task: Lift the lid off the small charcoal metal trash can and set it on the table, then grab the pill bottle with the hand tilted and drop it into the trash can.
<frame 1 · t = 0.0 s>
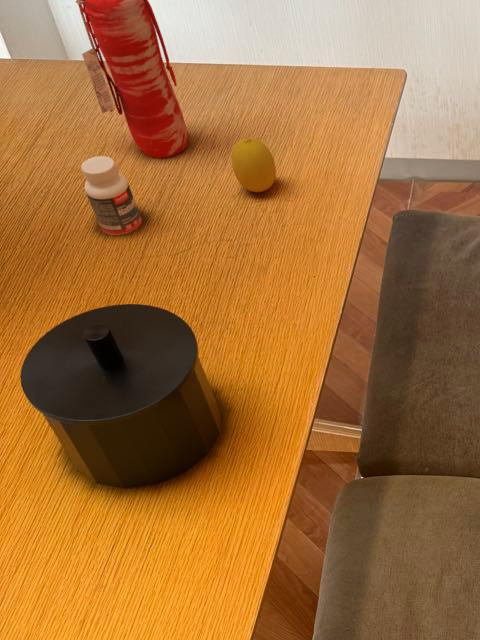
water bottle: (156, 151, 129), on the table
trash can: (148, 435, 97), on the table
pill bottle: (123, 227, 119), on the table
bin lid: (112, 363, 88), point 10 cm above the table, touching trash can
lemon: (261, 194, 124), on the table
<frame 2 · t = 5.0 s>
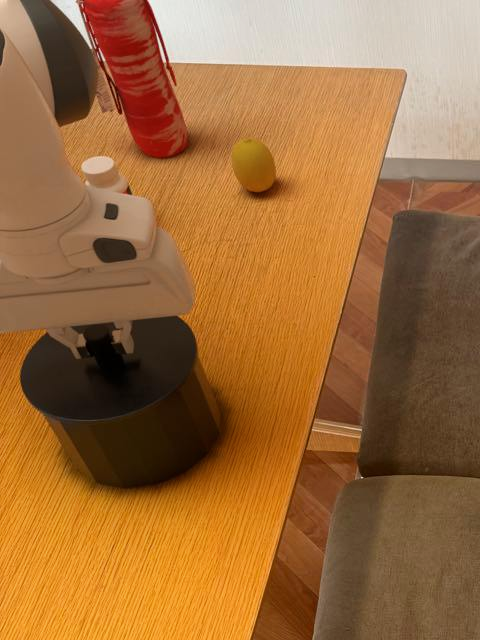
hand: (106, 352, 87), 12 cm above the table, tool pointing down, fingers closed on bin lid, 2 cm apart
bin lid: (111, 363, 88), point 11 cm above the table, touching gripper, trash can
everything else where it was.
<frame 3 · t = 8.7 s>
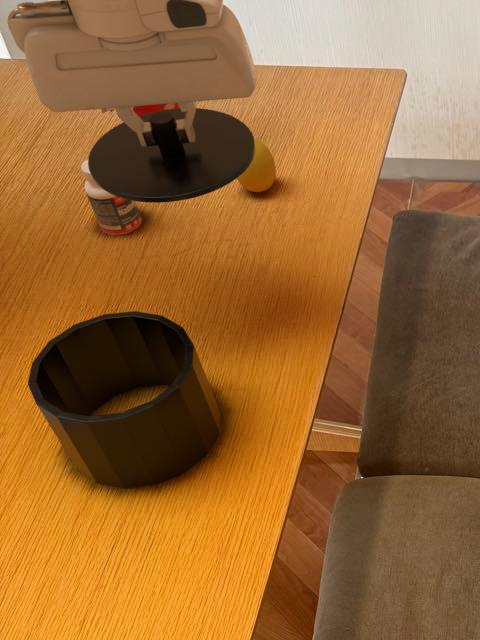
hand: (169, 141, 92), 22 cm above the table, tool pointing down, fingers closed on bin lid, 2 cm apart
bin lid: (174, 155, 93), point 20 cm above the table, touching gripper
everything else where it was.
when the fingers open (2 cm above the table, at t = 12.4 s): bin lid stays where it is, point 1 cm above the table.
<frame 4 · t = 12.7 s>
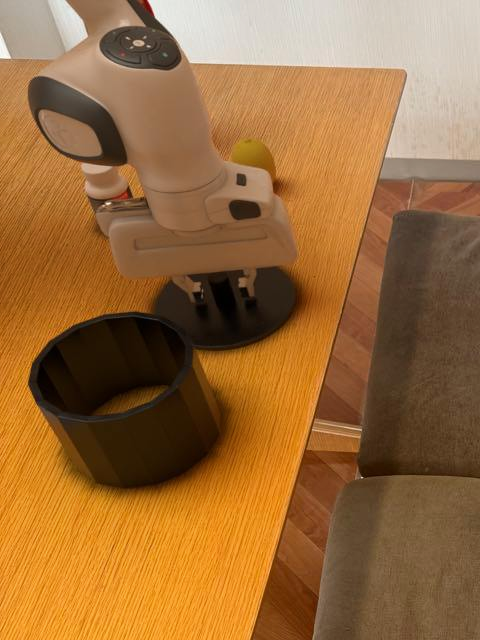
hand: (223, 296, 108), 2 cm above the table, tool pointing down, fingers open, 4 cm apart
bin lid: (226, 304, 109), point 1 cm above the table
everything else where it was.
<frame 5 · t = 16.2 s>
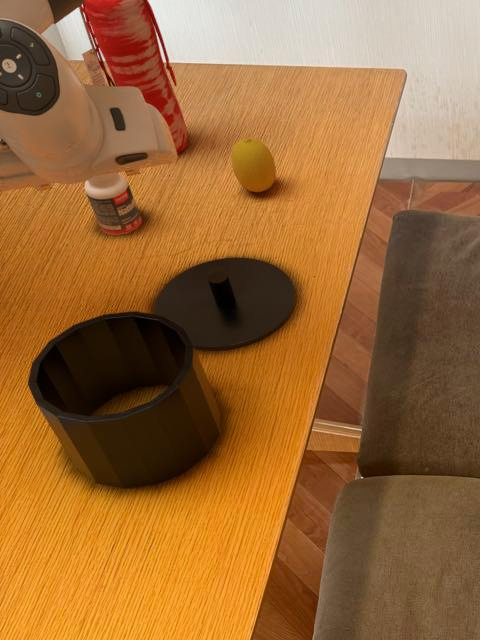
hand: (88, 175, 100), 15 cm above the table, tool tilted 45°, fingers open, 8 cm apart
nothing on the table moved.
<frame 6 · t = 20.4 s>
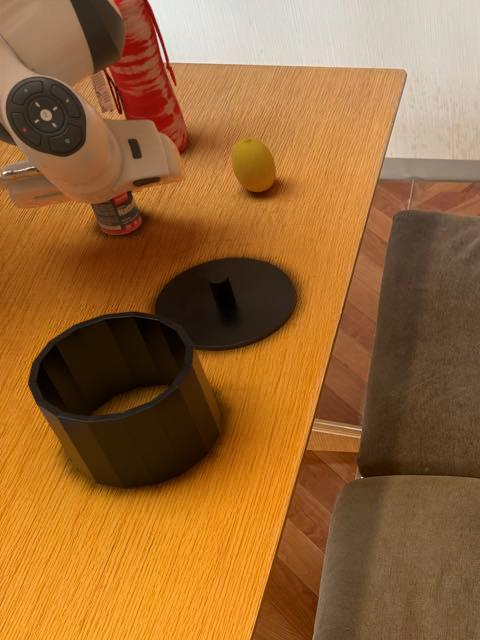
hand: (109, 190, 115), 5 cm above the table, tool tilted 45°, fingers closed on pill bottle, 5 cm apart
pill bottle: (123, 227, 119), on the table, touching gripper
everything else where it was.
when the fingers open (14 cm above the table, at t = 31.0 s): pill bottle drops 9 cm, resting on trash can.
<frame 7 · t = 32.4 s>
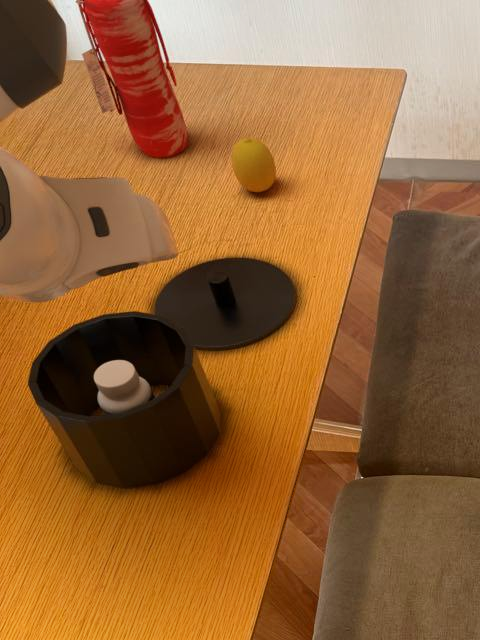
hand: (67, 269, 80), 21 cm above the table, tool tilted 45°, fingers open, 8 cm apart
pill bottle: (144, 435, 97), resting on trash can
everything else where it was.
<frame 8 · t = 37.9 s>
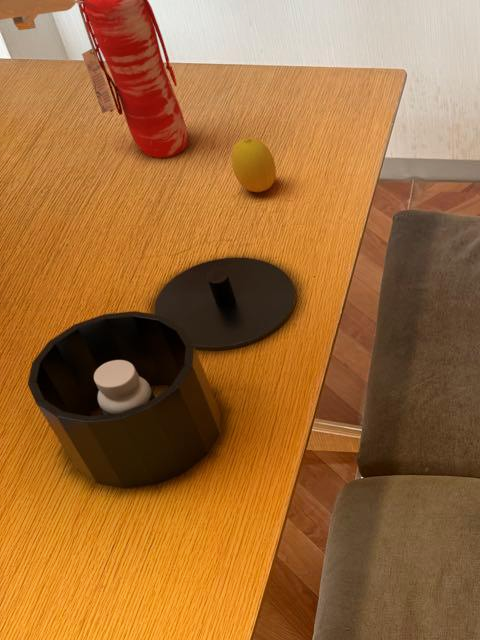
nothing on the table moved.
at the end: bin lid inside the target area (0.1 cm from its centre), point 0.6 cm above the table; pill bottle inside the target area in the trash can (0.3 cm from its centre), point 0.3 cm above the trash can's base; the gripper is holding nothing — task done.
